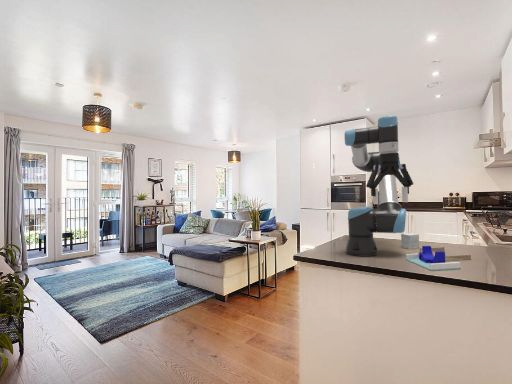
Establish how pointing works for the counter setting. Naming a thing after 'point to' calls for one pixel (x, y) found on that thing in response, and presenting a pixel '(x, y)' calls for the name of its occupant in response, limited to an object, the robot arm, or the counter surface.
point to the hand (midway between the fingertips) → (390, 203)
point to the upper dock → (452, 257)
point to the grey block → (410, 240)
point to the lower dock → (433, 267)
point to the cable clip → (431, 255)
